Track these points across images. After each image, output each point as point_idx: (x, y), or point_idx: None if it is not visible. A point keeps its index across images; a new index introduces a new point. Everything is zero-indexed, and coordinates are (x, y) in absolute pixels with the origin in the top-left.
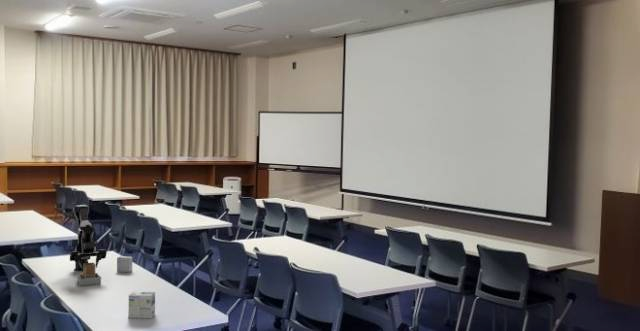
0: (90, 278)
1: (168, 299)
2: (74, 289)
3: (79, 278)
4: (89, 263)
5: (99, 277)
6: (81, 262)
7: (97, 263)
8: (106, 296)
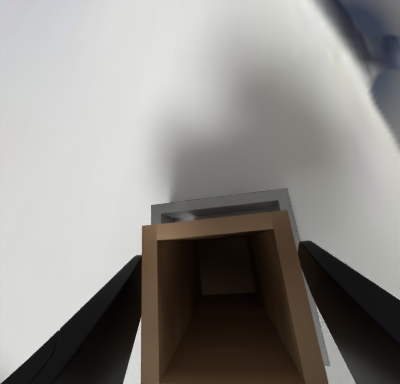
0: (216, 197)
1: (30, 10)
2: (297, 147)
3: (294, 225)
4: (217, 380)
5: (160, 204)
6: (390, 317)
7: (105, 287)
8: (169, 41)
